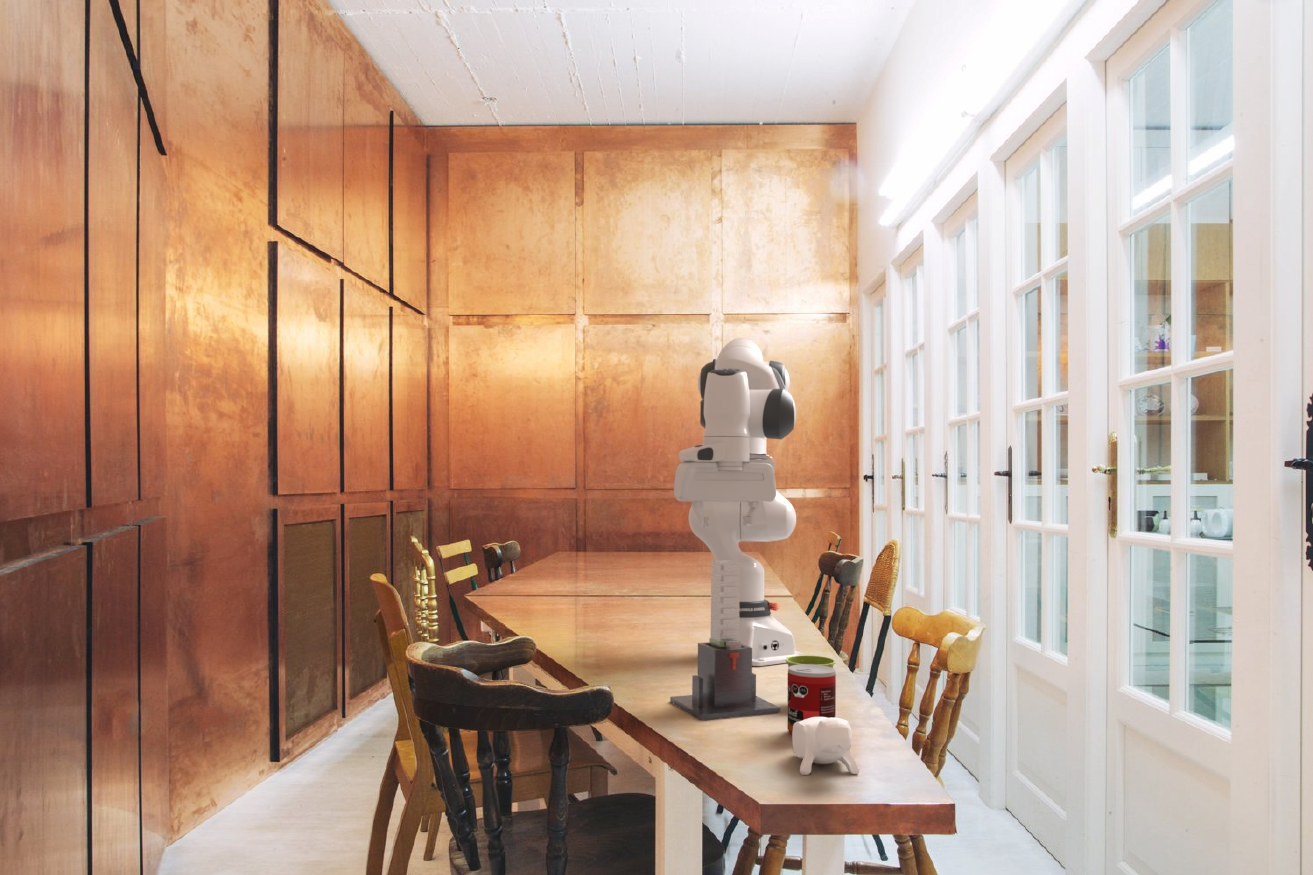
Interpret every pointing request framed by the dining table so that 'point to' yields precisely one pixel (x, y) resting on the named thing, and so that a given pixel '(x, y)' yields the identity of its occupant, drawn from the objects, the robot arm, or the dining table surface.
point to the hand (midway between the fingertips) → (725, 525)
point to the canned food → (810, 693)
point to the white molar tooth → (823, 743)
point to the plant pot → (810, 660)
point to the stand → (724, 685)
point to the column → (724, 602)
